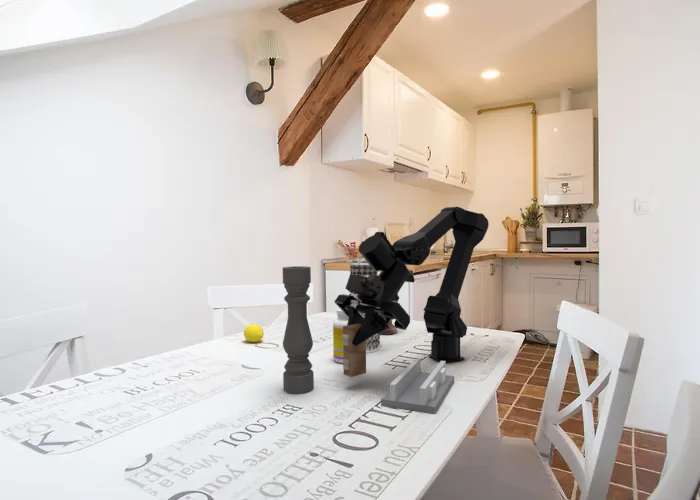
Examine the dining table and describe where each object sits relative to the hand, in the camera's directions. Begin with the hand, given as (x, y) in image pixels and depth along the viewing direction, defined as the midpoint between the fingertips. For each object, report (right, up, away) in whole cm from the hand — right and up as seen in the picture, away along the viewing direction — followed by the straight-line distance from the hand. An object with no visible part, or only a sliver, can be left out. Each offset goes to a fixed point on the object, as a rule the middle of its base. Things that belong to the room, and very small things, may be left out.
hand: (349, 343), depth 90 cm
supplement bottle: (-1, -9, +20) cm, 22 cm away
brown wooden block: (+1, -7, +1) cm, 7 cm away
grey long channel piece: (+14, -9, -3) cm, 17 cm away
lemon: (-29, -8, +40) cm, 50 cm away
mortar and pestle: (+10, -8, +49) cm, 51 cm away
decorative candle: (+4, -8, +31) cm, 32 cm away
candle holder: (-10, -10, 0) cm, 14 cm away
